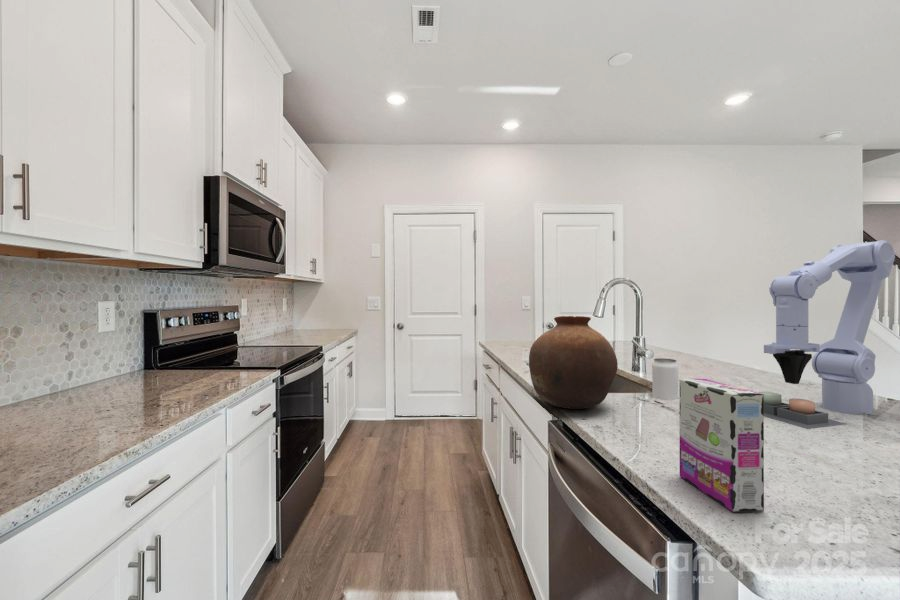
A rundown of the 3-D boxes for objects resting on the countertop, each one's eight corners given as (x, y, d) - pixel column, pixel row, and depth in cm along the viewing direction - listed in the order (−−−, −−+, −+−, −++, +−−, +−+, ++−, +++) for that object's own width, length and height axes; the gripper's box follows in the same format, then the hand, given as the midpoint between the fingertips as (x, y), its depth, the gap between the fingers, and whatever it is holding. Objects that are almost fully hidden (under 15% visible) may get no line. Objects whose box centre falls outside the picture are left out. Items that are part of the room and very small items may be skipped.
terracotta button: (798, 408, 90) (798, 398, 90) (820, 413, 86) (820, 402, 86) (784, 409, 89) (784, 399, 89) (805, 415, 85) (805, 404, 85)
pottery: (561, 424, 90) (561, 318, 90) (514, 399, 112) (513, 314, 112) (637, 413, 97) (636, 316, 97) (579, 393, 119) (578, 313, 119)
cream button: (740, 393, 104) (740, 385, 104) (756, 397, 99) (756, 388, 99) (727, 394, 102) (727, 386, 102) (743, 399, 98) (743, 389, 98)
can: (682, 405, 104) (682, 362, 104) (656, 404, 106) (656, 361, 106) (673, 399, 111) (673, 358, 111) (649, 398, 112) (649, 357, 112)
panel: (741, 402, 107) (741, 389, 107) (848, 430, 84) (848, 414, 84) (706, 405, 104) (706, 392, 104) (807, 435, 81) (807, 419, 81)
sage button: (767, 400, 97) (767, 391, 97) (786, 405, 92) (786, 395, 92) (753, 401, 96) (753, 392, 96) (772, 406, 91) (772, 396, 91)
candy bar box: (767, 512, 52) (766, 393, 52) (733, 514, 52) (732, 394, 52) (706, 474, 64) (705, 377, 64) (677, 476, 63) (677, 377, 63)
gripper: (796, 324, 96) (796, 378, 96) (750, 325, 92) (750, 381, 92) (830, 326, 89) (830, 384, 89) (782, 327, 86) (782, 387, 86)
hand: (792, 383), depth 90 cm, fingers closed
